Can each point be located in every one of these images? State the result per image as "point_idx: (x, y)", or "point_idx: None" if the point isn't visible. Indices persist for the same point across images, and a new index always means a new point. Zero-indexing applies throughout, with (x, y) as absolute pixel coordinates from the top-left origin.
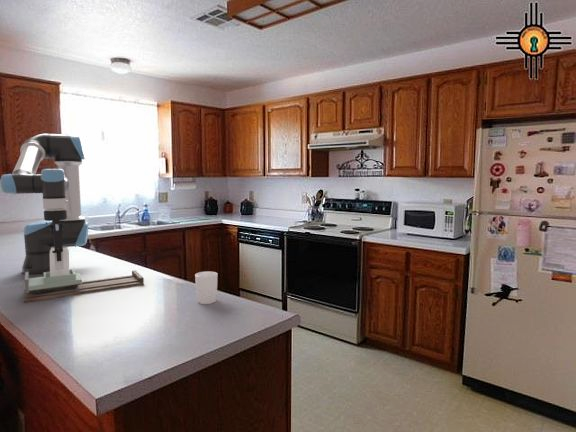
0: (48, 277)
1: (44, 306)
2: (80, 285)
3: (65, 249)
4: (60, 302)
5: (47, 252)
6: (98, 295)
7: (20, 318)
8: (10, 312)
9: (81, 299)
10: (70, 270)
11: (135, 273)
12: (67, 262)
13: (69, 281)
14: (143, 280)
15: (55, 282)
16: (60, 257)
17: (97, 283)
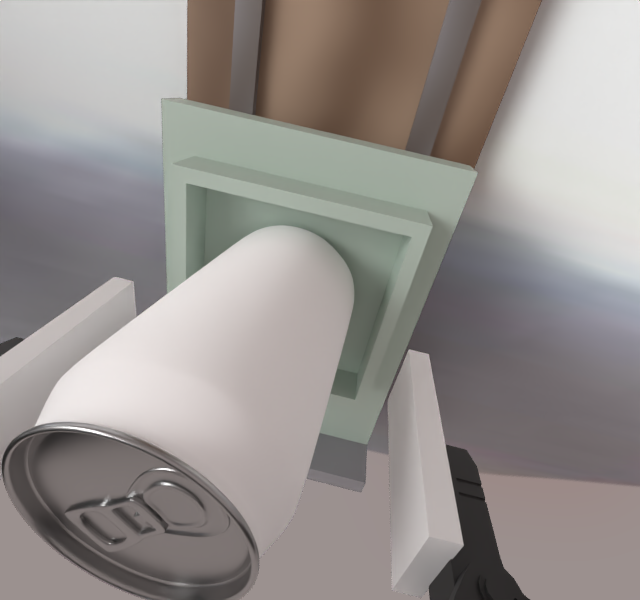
0: (366, 391)
1: (522, 374)
2: (295, 115)
3: (259, 464)
4: (530, 310)
5: None
6: (633, 75)
7: (597, 465)
8: (476, 461)
9: (597, 210)
10: (190, 192)
11: None
12: (313, 312)
13: (439, 264)
14: None
15: (397, 340)
16: (481, 503)
17: None
